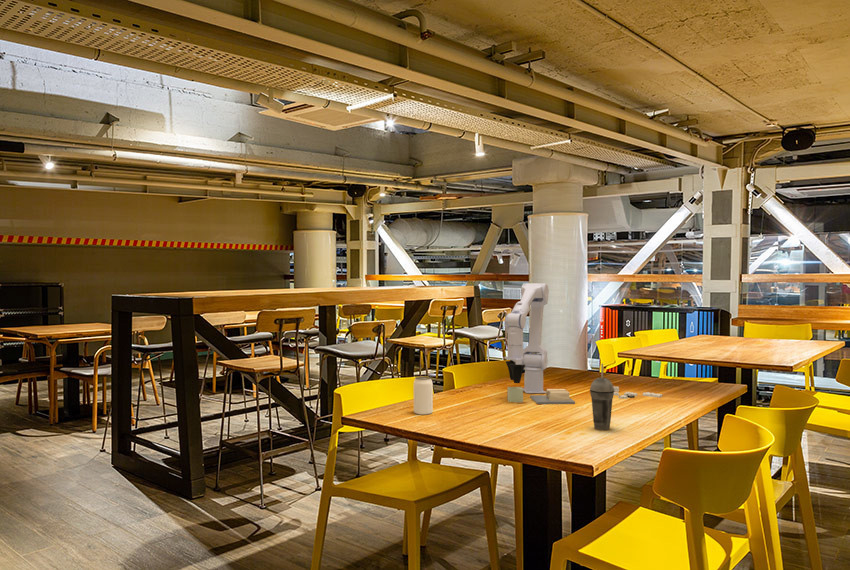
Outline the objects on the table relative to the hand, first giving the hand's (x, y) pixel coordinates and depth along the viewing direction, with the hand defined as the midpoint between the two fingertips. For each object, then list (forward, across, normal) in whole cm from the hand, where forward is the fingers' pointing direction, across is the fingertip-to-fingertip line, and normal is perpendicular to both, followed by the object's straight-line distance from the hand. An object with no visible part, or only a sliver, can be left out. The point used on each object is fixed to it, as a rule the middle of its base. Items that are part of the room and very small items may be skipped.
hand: (515, 381), depth 235 cm
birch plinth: (+7, 0, +16) cm, 18 cm away
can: (+8, +20, -35) cm, 41 cm away
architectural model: (+8, -9, +44) cm, 46 cm away
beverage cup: (+8, +44, +19) cm, 48 cm away
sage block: (+8, 0, 0) cm, 8 cm away
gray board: (+7, -1, +14) cm, 16 cm away
